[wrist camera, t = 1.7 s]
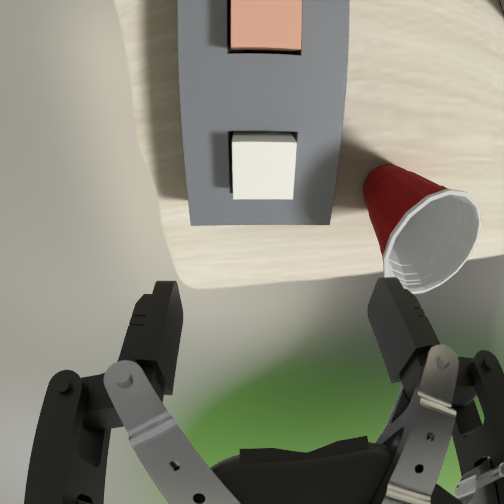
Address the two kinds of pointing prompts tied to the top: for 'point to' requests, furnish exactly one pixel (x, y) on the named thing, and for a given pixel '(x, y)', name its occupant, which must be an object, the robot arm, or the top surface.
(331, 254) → the top surface
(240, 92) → the key panel
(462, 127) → the top surface
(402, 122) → the top surface
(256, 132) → the ivory key
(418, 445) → the robot arm
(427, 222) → the plastic cup
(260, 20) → the terracotta key
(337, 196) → the top surface
